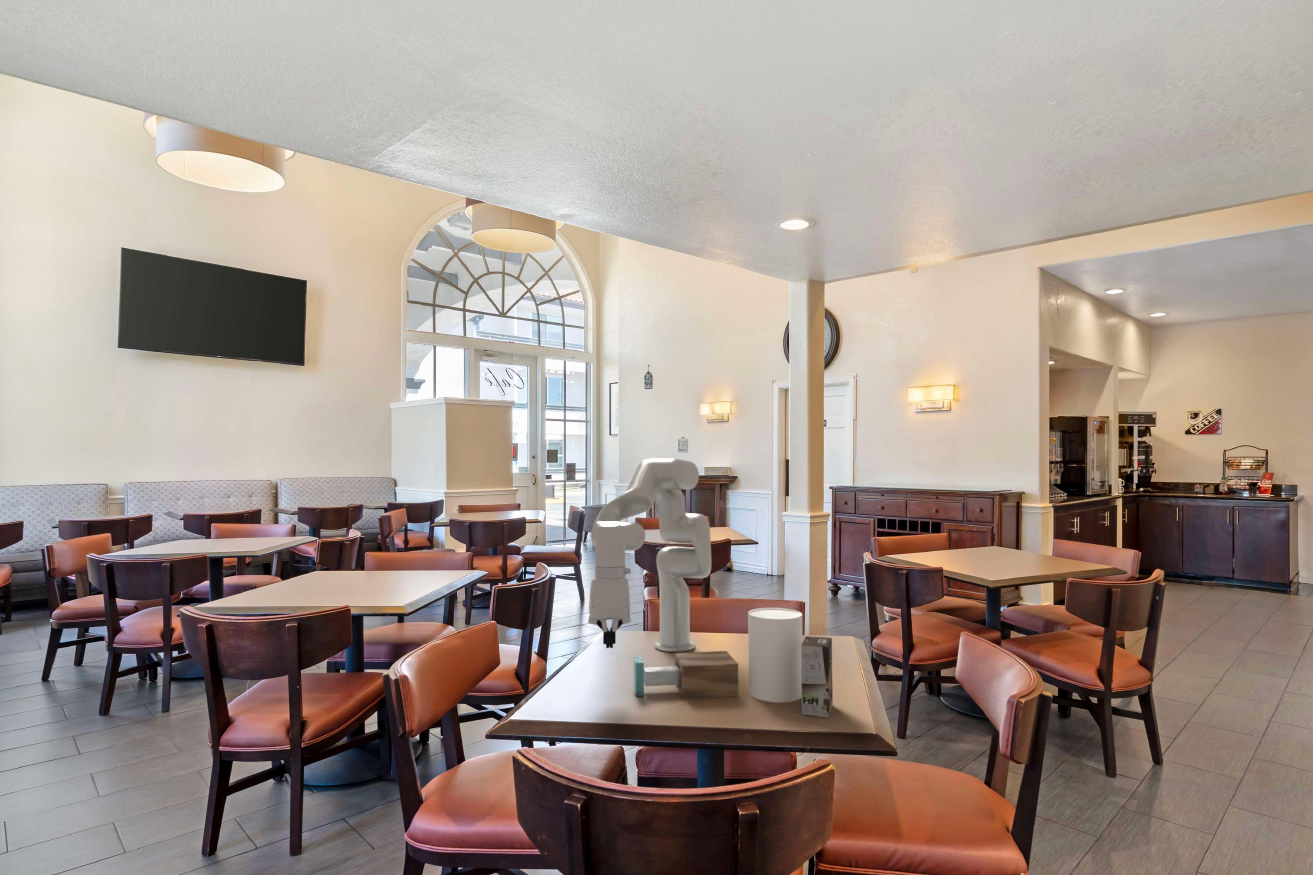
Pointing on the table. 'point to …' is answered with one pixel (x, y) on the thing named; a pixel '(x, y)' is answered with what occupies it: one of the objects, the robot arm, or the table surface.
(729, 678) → the block
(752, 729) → the table surface
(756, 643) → the canister
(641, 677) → the peg
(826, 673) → the coffee box
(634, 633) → the table surface
